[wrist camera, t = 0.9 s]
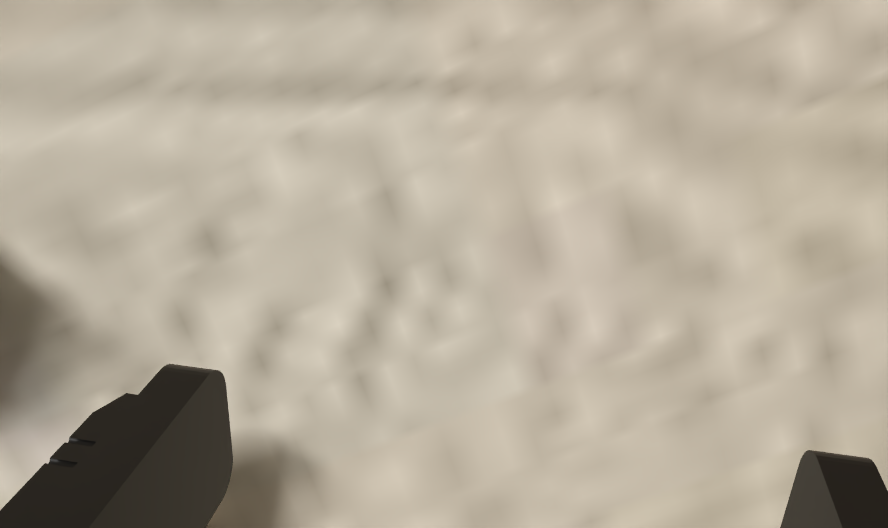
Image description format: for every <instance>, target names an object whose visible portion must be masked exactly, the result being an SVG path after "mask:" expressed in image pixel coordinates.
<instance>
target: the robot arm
mask: <svg viewBox="0 0 888 528" xmlns="http://www.w3.org/2000/svg"><path fill="white" fill-rule="evenodd" d="M232 463H233V454H232V443H231V433H230V422H229V412H228V402H227V391H226V383H225V379H224V376H223V374H222V373H221V372H220V371H218V370H211V369H203V368H196V367H189V366H182V365H174V364H168V365H166V366H164V367H163V368H162V369H161V370H160V371H159V372H158V373H157V374H156V375H155V377H154V378H153V379H152V380H151V381H150V382H149V383H148V384H147V386H146V387H145V388H144V389H143V390H142V391H141V392H140V393H139V394H138V395H135V394H128V393H126V394H124V395H123V396H121V397H119V398H118V399H116V400H114V401H112V402H111V403H109V404H107V405H105V406H104V407H102V408H100V409H98V410H97V411H95V412H93V413H92V414H91V415H90V416H89V417H88V418H87V419H86V421H85V422H84V423H83V424H82V425H81V426H80V427H79V428H78V429H77V430H76V431H75V432H74V433H73V434H72V435H71V436H70V437H69V442H68V443H64V444H63V445H62V446H61V447H60V448H59V449H58V450H57V451H56V452H55V453H54V454H53V455H52V456H51V458H50V462H49V464H46V463H45V464H44V465H43V466H42V467H41V468H40V469H39V470H38V471H37V472H36V473H35V474H34V476H33V477H32V478H31V479H30V480H29V481H28V482H27V483H26V484H25V485H24V486H23V487H22V488H21V489H20V490H19V491H18V492H17V493H16V495H15V496H14V497H13V498H12V499H11V500H10V501H9V502H8V503H7V504H6V505H5V506H4V507H3V508H2V509H1V510H0V528H205V527H206V526H207V524H208V522H209V521H210V519H211V517H212V516H213V514H214V512H215V511H216V509H217V507H218V506H219V504H220V503H221V501H222V499H223V497H224V495H225V493H226V490H227V487H228V484H229V481H230V476H231V471H232ZM780 528H888V491H887V489H886V487H885V485H884V482H883V480H882V478H881V476H880V474H879V472H878V469H877V467H876V465H875V464H874V462H873V461H872V460H871V459H869V458H863V457H856V456H848V455H841V454H834V453H826V452H819V451H812V450H808V451H806V452H805V453H804V455H803V456H802V458H801V460H800V463H799V467H798V470H797V473H796V477H795V480H794V483H793V487H792V490H791V494H790V497H789V500H788V504H787V507H786V510H785V514H784V517H783V521H782V524H781V527H780Z"/></svg>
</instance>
